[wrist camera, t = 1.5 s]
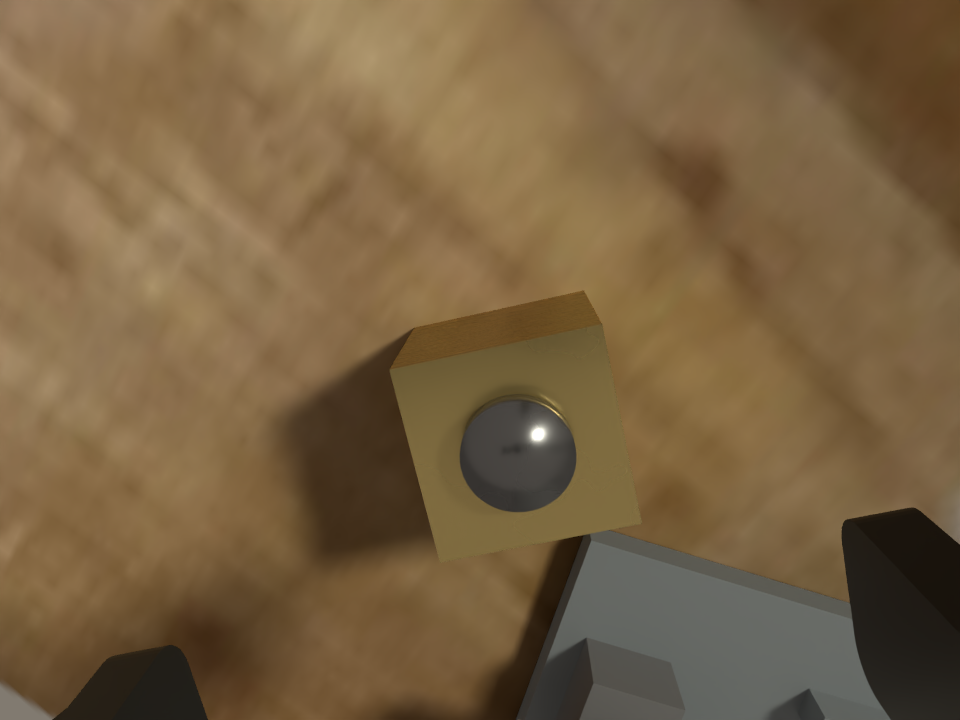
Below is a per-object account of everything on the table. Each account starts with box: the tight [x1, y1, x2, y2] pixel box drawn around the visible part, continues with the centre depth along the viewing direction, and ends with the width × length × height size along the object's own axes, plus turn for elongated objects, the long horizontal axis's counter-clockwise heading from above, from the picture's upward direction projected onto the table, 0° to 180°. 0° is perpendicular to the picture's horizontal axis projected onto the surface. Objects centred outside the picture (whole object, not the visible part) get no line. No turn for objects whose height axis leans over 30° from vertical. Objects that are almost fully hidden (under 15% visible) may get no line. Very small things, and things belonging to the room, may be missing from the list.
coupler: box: [389, 291, 642, 563], centre depth 19 cm, size 4×4×5 cm
